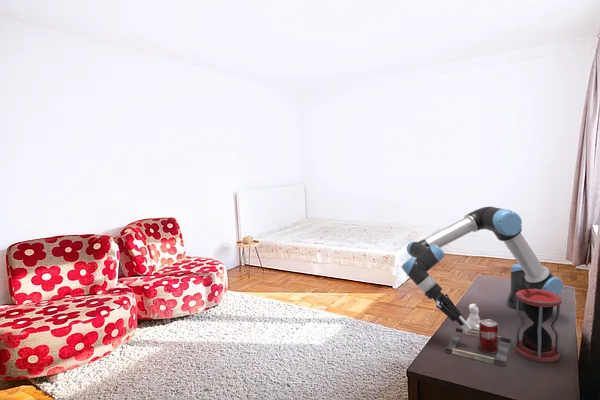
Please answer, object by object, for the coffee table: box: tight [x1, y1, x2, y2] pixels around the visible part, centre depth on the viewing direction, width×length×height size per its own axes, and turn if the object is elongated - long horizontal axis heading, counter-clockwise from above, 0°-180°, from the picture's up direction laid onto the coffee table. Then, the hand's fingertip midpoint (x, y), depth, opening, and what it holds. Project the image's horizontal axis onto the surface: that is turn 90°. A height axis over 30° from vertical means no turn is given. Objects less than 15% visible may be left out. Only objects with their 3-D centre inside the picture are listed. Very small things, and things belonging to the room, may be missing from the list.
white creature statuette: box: [465, 303, 482, 332], centre depth 188 cm, size 10×9×12 cm
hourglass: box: [514, 289, 563, 363], centre depth 163 cm, size 16×16×25 cm
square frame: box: [444, 327, 512, 367], centre depth 170 cm, size 22×23×2 cm
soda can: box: [478, 318, 499, 354], centre depth 168 cm, size 7×7×12 cm
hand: (468, 330), depth 172 cm, fingers closed
